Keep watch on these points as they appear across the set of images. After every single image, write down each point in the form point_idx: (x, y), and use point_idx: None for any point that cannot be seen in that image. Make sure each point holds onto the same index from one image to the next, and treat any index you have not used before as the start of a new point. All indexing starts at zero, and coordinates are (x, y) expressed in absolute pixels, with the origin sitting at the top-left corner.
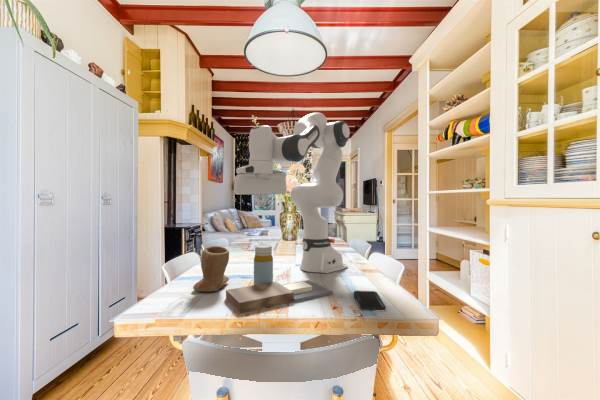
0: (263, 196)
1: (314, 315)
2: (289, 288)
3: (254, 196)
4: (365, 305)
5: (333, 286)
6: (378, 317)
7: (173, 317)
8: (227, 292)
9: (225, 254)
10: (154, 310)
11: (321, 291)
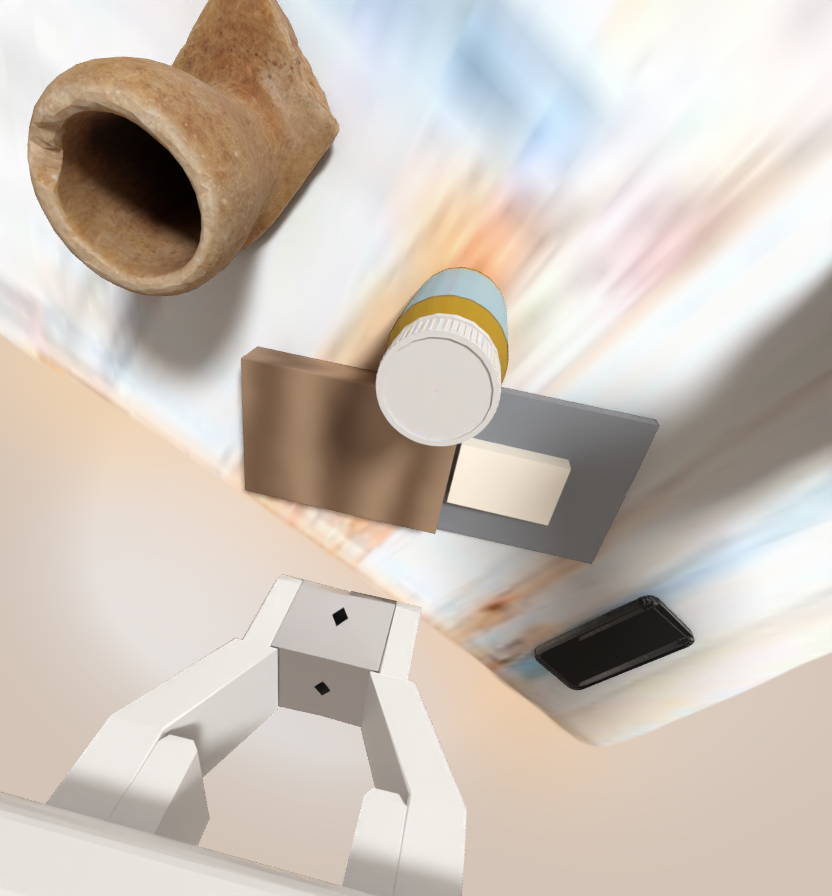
0: (357, 826)
1: (416, 598)
2: (461, 489)
3: (98, 766)
4: (557, 657)
5: (676, 516)
6: (522, 685)
7: (85, 373)
8: (243, 375)
9: (188, 288)
10: (20, 275)
11: (560, 541)
